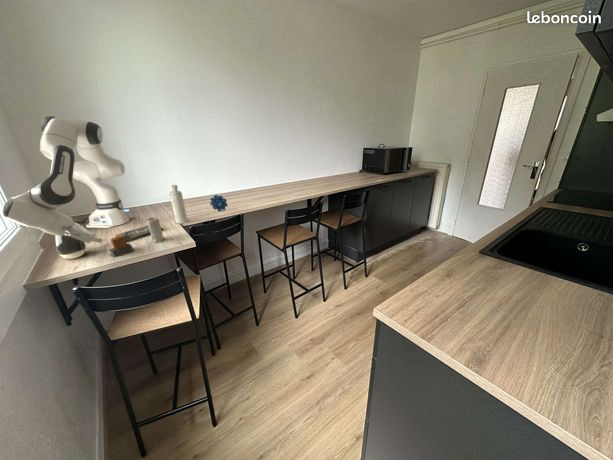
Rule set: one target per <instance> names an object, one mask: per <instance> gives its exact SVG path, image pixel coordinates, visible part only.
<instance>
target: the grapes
mask: <svg viewBox="0 0 613 460" xmlns="http://www.w3.org/2000/svg"><path fill="white" fill-rule="evenodd" d="M227 201H228V200H227V198H224V196H223V195H218V194H215V195H214V196H213V197H210V202H209V205H210V206H211V207H212V209H213V210H217V211H218V212H222V211H225V210H226V208H227V207H228V202H227Z"/></svg>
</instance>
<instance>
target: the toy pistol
mask: <svg viewBox="0 0 613 460" xmlns="http://www.w3.org/2000/svg"><path fill="white" fill-rule="evenodd" d="M161 230H162V232H163V231H164V229H163V227H161ZM119 236H124V237H125V240H126V243H129V242H131V241H134V240H138V239H140V238H144V237H148V236H151V234H150V230H149V227H148V224H147V225H144V226H140V227H137V228H135V229H131V230H127V231H124V232H120V233H118V234H115V237H119Z"/></svg>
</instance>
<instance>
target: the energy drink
mask: <svg viewBox="0 0 613 460" xmlns="http://www.w3.org/2000/svg"><path fill="white" fill-rule="evenodd" d="M146 223H147V225H148V227H149V230H150V238H151V240H152V242H153V243H159V242H162V241H164V239H165V237H164V234H163V231H162V230H161V228H162V226H161V222H160V219H159V217H151V218H148V219H147V220H146Z"/></svg>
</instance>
